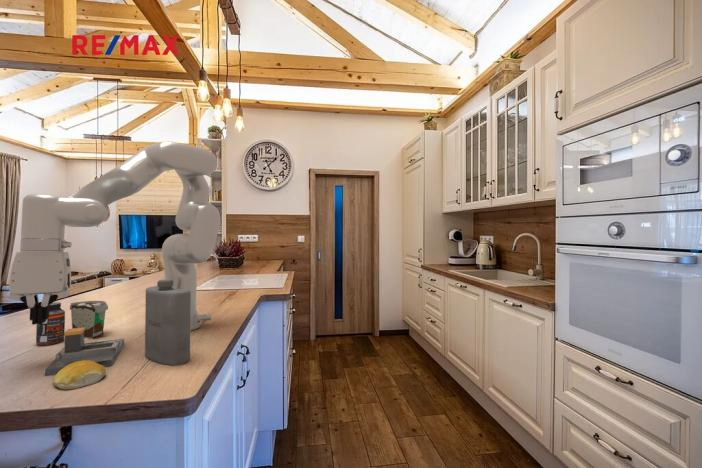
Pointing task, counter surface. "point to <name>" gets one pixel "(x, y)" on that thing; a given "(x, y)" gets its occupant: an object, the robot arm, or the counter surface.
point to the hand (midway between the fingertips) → (39, 322)
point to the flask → (167, 324)
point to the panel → (87, 355)
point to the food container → (89, 317)
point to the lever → (74, 339)
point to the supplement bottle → (52, 326)
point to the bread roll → (79, 374)
